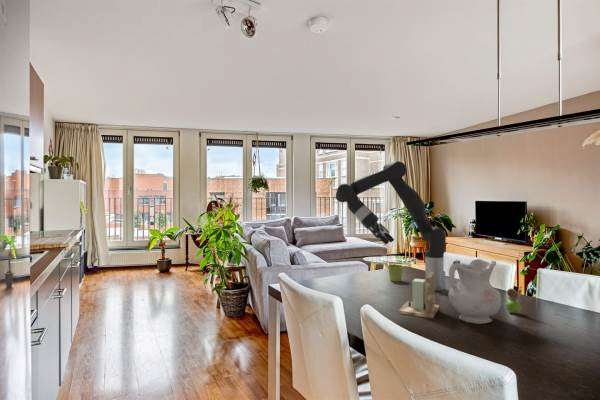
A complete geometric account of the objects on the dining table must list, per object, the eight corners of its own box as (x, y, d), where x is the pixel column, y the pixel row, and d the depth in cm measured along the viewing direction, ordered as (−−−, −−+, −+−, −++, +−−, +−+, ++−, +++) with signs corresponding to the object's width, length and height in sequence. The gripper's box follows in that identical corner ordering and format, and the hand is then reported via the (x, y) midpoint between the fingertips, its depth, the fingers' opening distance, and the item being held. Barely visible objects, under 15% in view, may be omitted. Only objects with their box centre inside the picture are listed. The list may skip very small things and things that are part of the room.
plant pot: (403, 282, 212) (403, 267, 212) (387, 281, 215) (386, 267, 215) (403, 279, 221) (403, 264, 221) (387, 278, 224) (387, 264, 224)
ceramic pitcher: (477, 334, 136) (482, 268, 134) (433, 316, 152) (437, 257, 150) (509, 323, 147) (514, 262, 145) (465, 307, 164) (469, 252, 162)
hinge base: (398, 313, 157) (398, 275, 157) (407, 303, 171) (407, 269, 171) (433, 318, 151) (433, 279, 150) (439, 307, 165) (439, 272, 164)
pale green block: (412, 308, 160) (412, 281, 160) (415, 305, 165) (415, 278, 164) (423, 310, 158) (423, 282, 157) (425, 306, 162) (425, 279, 162)
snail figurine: (517, 316, 152) (517, 287, 152) (502, 312, 158) (502, 284, 158) (525, 314, 155) (525, 286, 154) (510, 310, 160) (510, 282, 160)
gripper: (366, 212, 169) (391, 238, 163) (376, 211, 181) (399, 235, 176) (355, 223, 172) (380, 249, 166) (365, 221, 184) (388, 245, 179)
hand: (390, 242), depth 171 cm, fingers open, 8 cm apart
